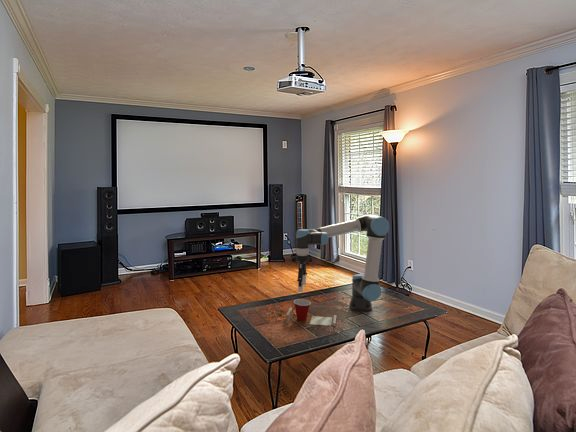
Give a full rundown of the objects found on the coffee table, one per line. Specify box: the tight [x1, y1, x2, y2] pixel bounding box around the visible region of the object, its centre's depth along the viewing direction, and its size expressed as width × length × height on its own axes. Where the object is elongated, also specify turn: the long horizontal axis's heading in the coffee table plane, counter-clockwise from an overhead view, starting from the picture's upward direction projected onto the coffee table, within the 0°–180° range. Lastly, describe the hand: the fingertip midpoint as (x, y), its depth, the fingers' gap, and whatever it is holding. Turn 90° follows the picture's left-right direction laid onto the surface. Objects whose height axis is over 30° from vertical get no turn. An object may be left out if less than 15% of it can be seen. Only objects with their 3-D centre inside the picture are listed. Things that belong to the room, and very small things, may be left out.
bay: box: [285, 307, 337, 327], centre depth 236 cm, size 30×13×5 cm, turn 80°
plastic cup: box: [293, 298, 312, 322], centre depth 237 cm, size 11×11×12 cm
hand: (302, 288), depth 235 cm, fingers open, 13 cm apart
